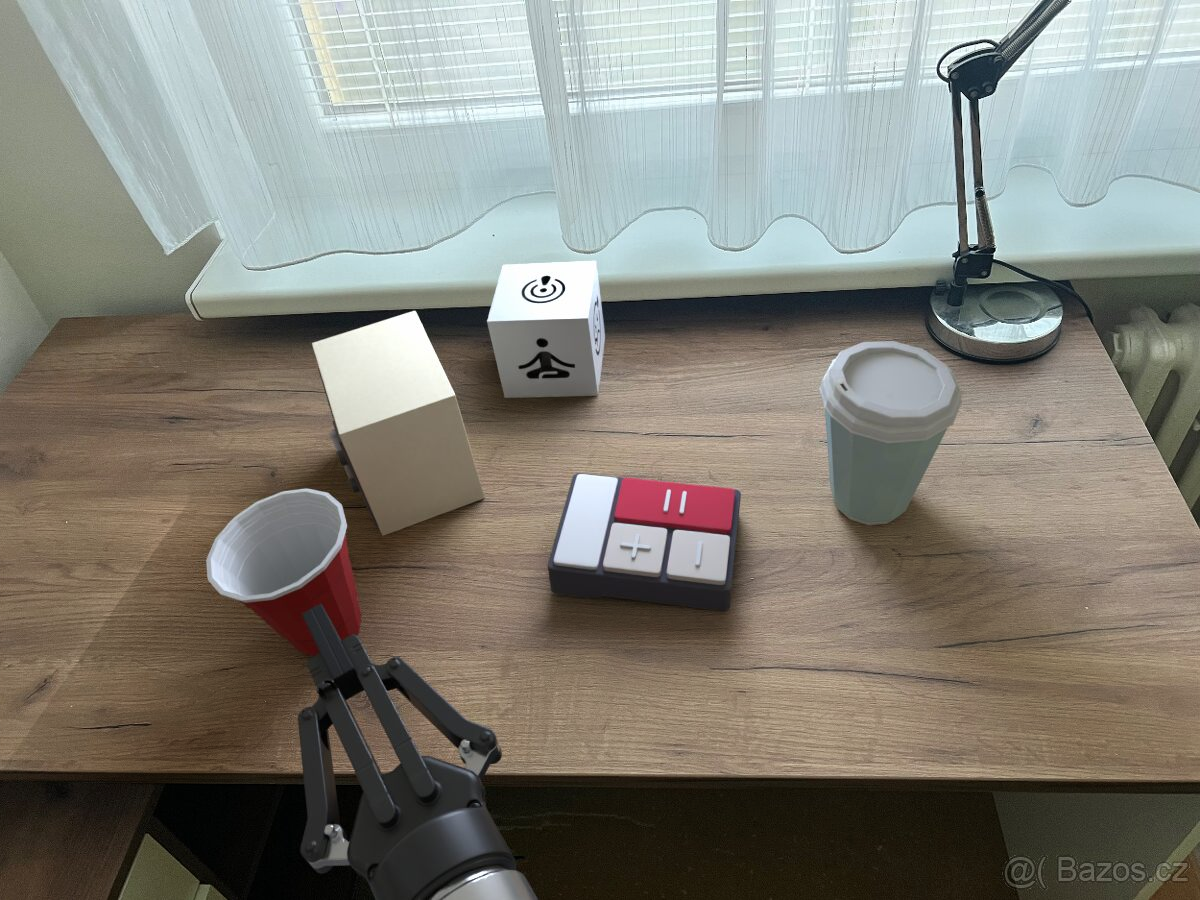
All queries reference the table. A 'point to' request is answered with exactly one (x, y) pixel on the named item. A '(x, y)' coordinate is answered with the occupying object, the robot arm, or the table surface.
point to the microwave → (397, 423)
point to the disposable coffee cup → (884, 425)
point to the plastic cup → (289, 564)
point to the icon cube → (548, 329)
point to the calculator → (646, 542)
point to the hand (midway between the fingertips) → (317, 619)
